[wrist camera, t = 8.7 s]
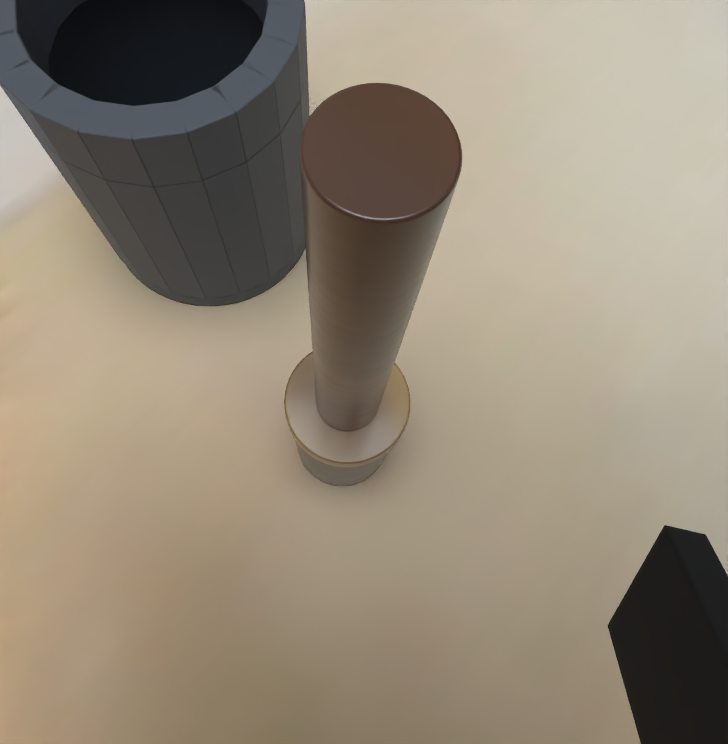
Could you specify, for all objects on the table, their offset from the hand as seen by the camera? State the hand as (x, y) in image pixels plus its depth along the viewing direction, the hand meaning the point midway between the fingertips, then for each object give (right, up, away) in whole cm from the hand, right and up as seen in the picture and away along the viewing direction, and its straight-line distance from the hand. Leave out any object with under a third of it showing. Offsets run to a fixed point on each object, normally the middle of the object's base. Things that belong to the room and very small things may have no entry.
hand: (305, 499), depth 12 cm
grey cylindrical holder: (-7, +11, +20) cm, 24 cm away
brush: (0, -1, +17) cm, 17 cm away
